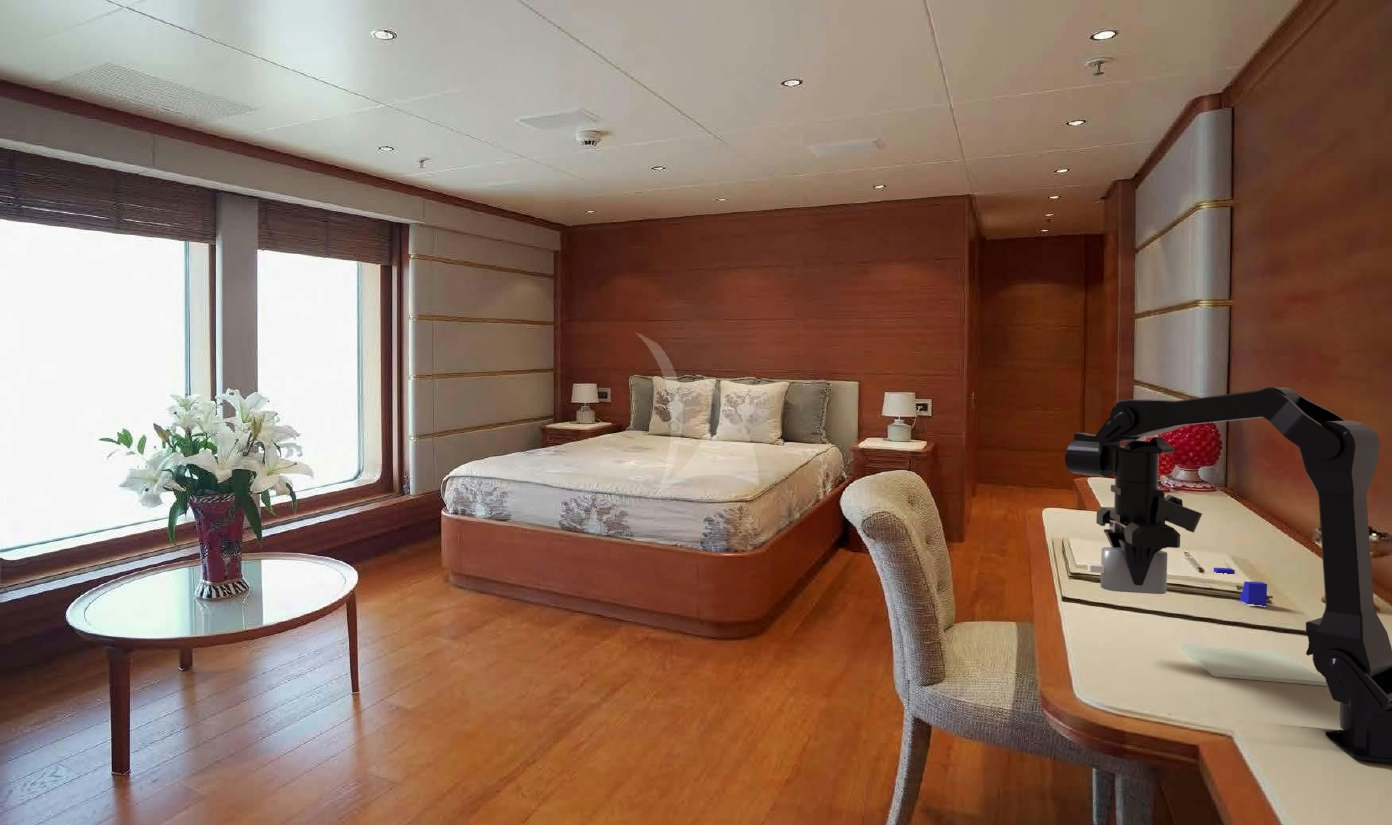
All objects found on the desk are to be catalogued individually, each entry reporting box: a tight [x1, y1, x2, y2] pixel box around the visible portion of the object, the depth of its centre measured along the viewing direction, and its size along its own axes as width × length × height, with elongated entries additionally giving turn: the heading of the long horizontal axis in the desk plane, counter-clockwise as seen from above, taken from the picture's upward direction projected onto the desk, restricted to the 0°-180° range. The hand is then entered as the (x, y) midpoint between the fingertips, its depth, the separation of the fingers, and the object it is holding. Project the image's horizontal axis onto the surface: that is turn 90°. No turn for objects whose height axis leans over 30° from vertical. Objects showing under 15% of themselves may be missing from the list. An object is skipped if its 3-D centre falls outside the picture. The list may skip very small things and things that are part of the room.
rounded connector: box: [1087, 546, 1168, 595], centre depth 116 cm, size 4×11×6 cm, turn 77°
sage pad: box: [1179, 643, 1328, 687], centre depth 112 cm, size 12×14×1 cm
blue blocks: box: [1213, 567, 1268, 607], centre depth 143 cm, size 12×4×6 cm, turn 172°
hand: (1133, 581), depth 116 cm, fingers closed on rounded connector, 4 cm apart
